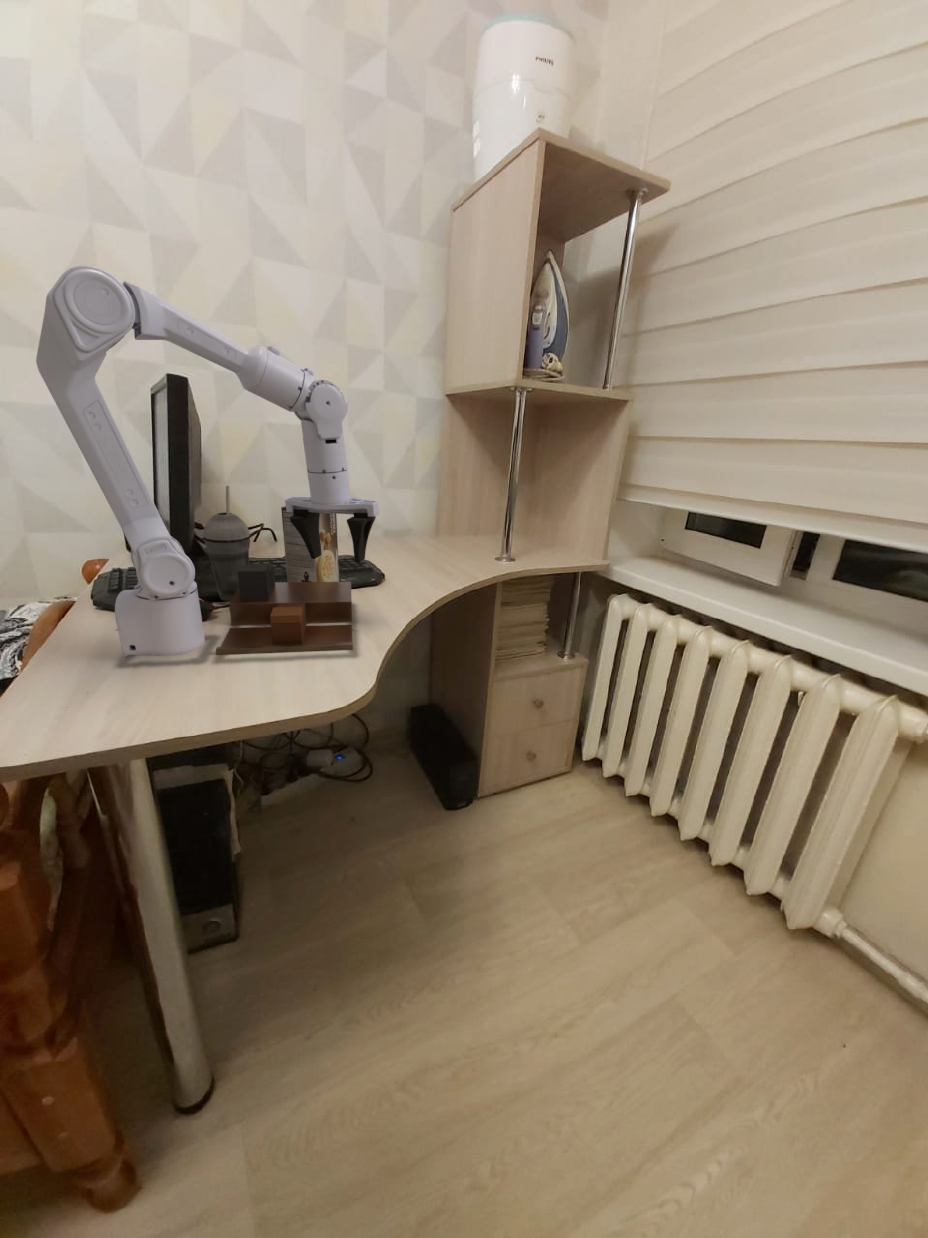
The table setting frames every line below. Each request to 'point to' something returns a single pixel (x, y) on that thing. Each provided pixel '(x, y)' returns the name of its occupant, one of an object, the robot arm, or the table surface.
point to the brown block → (288, 623)
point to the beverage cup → (227, 549)
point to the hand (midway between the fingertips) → (338, 558)
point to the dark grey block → (256, 582)
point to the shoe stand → (321, 607)
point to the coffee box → (298, 554)
